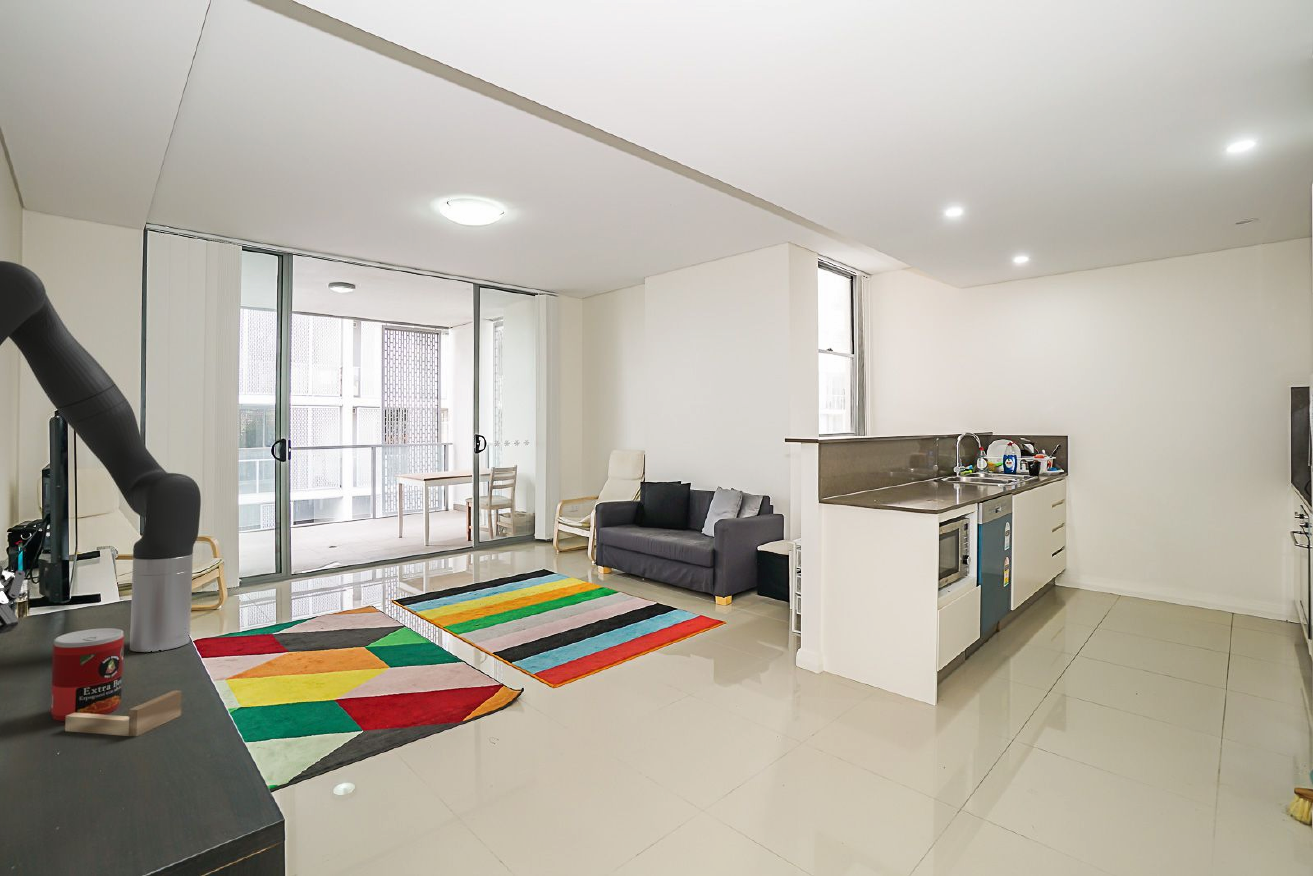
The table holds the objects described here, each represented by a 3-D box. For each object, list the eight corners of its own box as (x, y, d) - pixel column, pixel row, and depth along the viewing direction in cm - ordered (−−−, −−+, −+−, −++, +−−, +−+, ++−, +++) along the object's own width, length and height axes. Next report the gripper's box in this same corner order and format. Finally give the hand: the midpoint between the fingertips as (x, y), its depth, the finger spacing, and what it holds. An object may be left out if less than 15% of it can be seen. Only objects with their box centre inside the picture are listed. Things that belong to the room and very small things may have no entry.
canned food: (80, 725, 89) (83, 644, 90) (34, 719, 91) (38, 640, 91) (135, 704, 97) (138, 630, 97) (92, 699, 98) (95, 626, 99)
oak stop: (65, 731, 87) (66, 704, 87) (114, 710, 94) (115, 686, 94) (136, 736, 86) (137, 710, 86) (181, 715, 93) (181, 690, 93)
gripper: (-98, 530, 91) (-27, 623, 89) (7, 521, 104) (71, 602, 102) (-133, 567, 91) (-63, 660, 89) (-24, 553, 104) (39, 634, 102)
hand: (8, 629), depth 95 cm, fingers closed
